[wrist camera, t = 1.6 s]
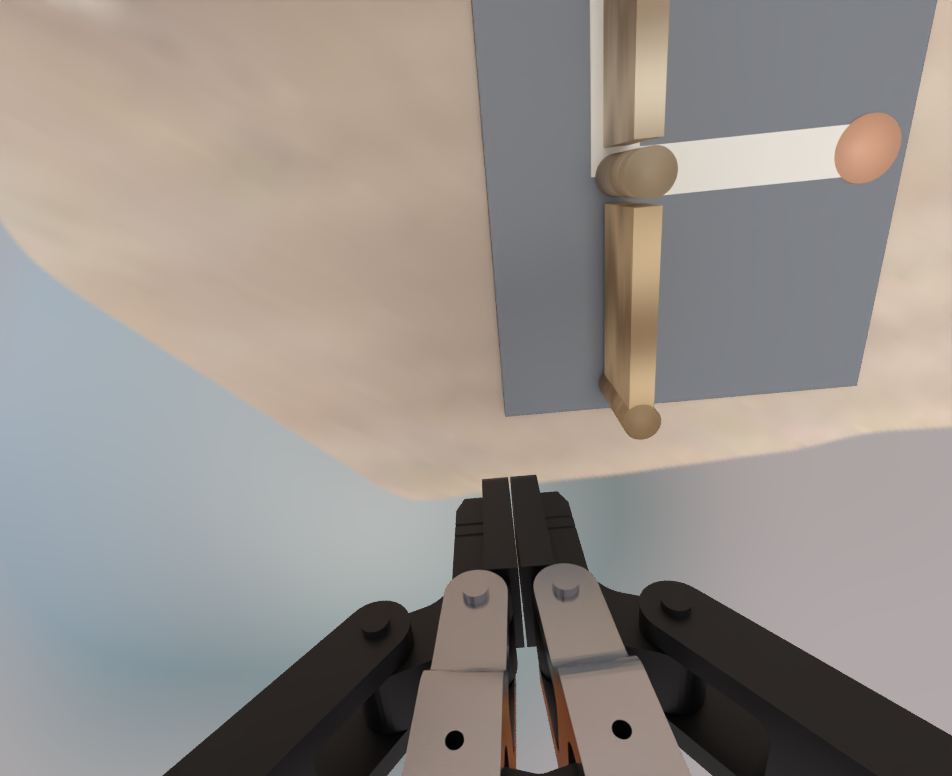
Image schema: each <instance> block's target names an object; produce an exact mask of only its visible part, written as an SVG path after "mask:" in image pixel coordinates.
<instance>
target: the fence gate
mask: <svg viewBox="0 0 952 776" xmlns="http://www.w3.org/2000/svg"><path fill="white" fill-rule="evenodd" d="M662 212H663V205H657V204H648V203H639V202H630V201H627V202H617V203H607V204H605V319H604V375H603V376H602V378H601V379H600V383H599V388H600V391H601V392H602V394H603V396H604V397H605V399H606V400H607V402H608V404H609V405H610V407H611V409H612V410H613V412H614V414H615V415H616V417H617V418H618V420H619V422H620V423H621V425H622V427H623V428H624V430H625V431H626V433H627V434H628V435H629V436H630V437H632V438H634V439H647V438H649V437H651V436H653V435H654V434H655V433H656V432H657V431H658V429H659V427H660V425H661V417H660V415H659V413H658V412H657V410H656V409H655V408H654V396H655V373H656V350H657V327H658V304H659V281H660V258H661V235H662Z"/></svg>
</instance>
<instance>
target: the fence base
mask: <svg viewBox="0 0 952 776" xmlns="http://www.w3.org/2000/svg"><path fill="white" fill-rule="evenodd" d="M669 7H670V0H603V148H607V147H617V146H626V145H631V144H635V143H639V142H643V141H647V140H651V139H655V138H659V137H663V136H664V125H665V102H666V78H667V54H668V31H669ZM677 174H678V164H677V160H676V157H675V155H674V154H673V153H672V151H670V150H669V149H668V148H666V147H664V146H661V145H651V146H646V147H642V148H637V149H632V150H628V151H623V152H619V153H614V154H611V155H608V156H607V157H605V158H604V159H603V160H602V161H601V162H600V163H599V165H598V167H597V170H596V175H595V182H596V185H597V187H598V189H599V190H600V191H601V192H602V193H604V194H605V195H608V196H616V197H627V198H639V199H656V198H659V197H661V196H663V195H664V194H666V193H667V192H668V191H669V190H670V189H671V187H672V186H673V184H674V183H675V180H676V178H677Z"/></svg>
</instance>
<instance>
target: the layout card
mask: <svg viewBox="0 0 952 776" xmlns="http://www.w3.org/2000/svg"><path fill="white" fill-rule="evenodd" d="M936 4H937V0H670V7H669V31H668V54H667V78H666V102H665V125H664V136H663V137H659V138H655V139H651V140H647V141H643V142H639V143H635V144H631V145H626V146H617V147H607V148H603V0H472V10H473V23H474V35H475V47H476V59H477V72H478V84H479V96H480V109H481V121H482V133H483V146H484V158H485V170H486V182H487V195H488V207H489V219H490V232H491V244H492V256H493V269H494V281H495V293H496V306H497V318H498V330H499V342H500V355H501V367H502V379H503V392H504V404H505V415H506V417H508V416H519V415H530V414H542V413H553V412H564V411H576V410H587V409H598V408H610V405H609V404H608V402H607V400H606V399H605V397H604V396H603V394H602V392H601V391H600V388H599V383H600V379H601V378H602V376H603V375H604V319H605V204H607V203H617V202H627V201H630V202H639V203H648V204H657V205H663V212H662V235H661V258H660V281H659V304H658V327H657V350H656V373H655V396H654V404H655V403H666V402H678V401H689V400H700V399H712V398H723V397H734V396H745V395H757V394H768V393H779V392H791V391H802V390H813V389H825V388H836V387H847V386H857V382H858V377H859V372H860V368H861V363H862V358H863V353H864V348H865V344H866V339H867V334H868V329H869V325H870V320H871V315H872V310H873V305H874V301H875V296H876V291H877V286H878V281H879V277H880V272H881V267H882V262H883V258H884V253H885V248H886V243H887V238H888V234H889V229H890V224H891V219H892V214H893V210H894V205H895V200H896V195H897V191H898V186H899V181H900V176H901V171H902V167H903V162H904V157H905V152H906V148H907V143H908V138H909V133H910V128H911V124H912V119H913V114H914V109H915V104H916V100H917V95H918V90H919V85H920V81H921V76H922V71H923V66H924V61H925V57H926V52H927V47H928V42H929V37H930V33H931V28H932V23H933V18H934V14H935V9H936ZM651 145H661V146H664V147H666V148H668V149H669V150H670V151H672V153H673V154H674V155H675V157H676V160H677V164H678V174H677V178H676V180H675V183H674V184H673V186H672V187H671V189H670V190H669V191H668V192H667V193H666V194H664V195H663V196H661V197H659V198H656V199H639V198H627V197H616V196H608V195H605V194H604V193H602V192H601V191H600V190H599V189H598V187H597V185H596V182H595V175H596V170H597V167H598V165H599V163H600V162H601V161H602V160H603V159H604V158H605V157H607V156H608V155H611V154H614V153H619V152H623V151H628V150H632V149H637V148H642V147H646V146H651Z"/></svg>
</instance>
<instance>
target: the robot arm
mask: <svg viewBox="0 0 952 776" xmlns="http://www.w3.org/2000/svg"><path fill="white" fill-rule="evenodd" d="M510 482H511V494H512V506H513V518H514V528H513V518H512V509H511V500H510V491H509V482H508V477H505V478H493V479H482V493H483V498H472V499H465V500H464V501H463V503H462V504H461V505H460V507H459V508H458V510H457V511H456V528H455V543H454V560H453V578H452V581H450V583H449V584H448V585H447V587H446V589H445V592H444V596H443V597H442V598H441V599H439V600H438V601H437V602H435V603H433V604H432V605H430V606H427V607H425V608H422V609H419V610H416V611H414V612H411V613H408V612H407V610H406V609H405V608H404V607H403V606H402V605H400V604H398V603H396V602H392V601H378V602H373V603H370V604H368V605H365V606H363V607H362V608H360V609H358V610H357V611H356V612H355V613H353V614H352V615H351V616H350V617H349V618H347V619H346V620H345V621H344V622H343V623H342V624H341V625H339V626H338V627H337V628H336V629H334V630H333V631H332V632H331V633H330V634H329V635H327V636H326V637H325V638H324V639H323V640H321V641H320V642H319V643H318V644H317V645H316V646H314V647H313V648H312V649H311V650H310V651H309V652H307V653H306V654H305V655H304V656H303V657H302V658H300V659H299V660H298V661H297V662H296V663H294V664H293V665H292V666H291V667H290V668H289V669H287V670H286V671H285V672H284V673H283V674H282V675H280V676H279V677H278V678H277V679H276V680H275V681H273V682H272V683H271V684H270V685H269V686H267V687H266V688H265V689H264V690H263V691H262V692H260V693H259V694H258V695H257V696H256V697H254V698H253V699H252V700H251V701H250V702H249V703H247V704H246V705H245V706H244V707H243V708H242V709H241V710H239V711H238V712H237V713H236V714H234V715H233V716H232V717H231V718H230V719H229V720H227V721H226V722H225V723H224V724H223V725H222V726H220V727H219V728H218V729H217V730H216V731H215V732H213V733H212V734H211V735H210V736H209V737H207V738H206V739H205V740H204V741H203V742H202V743H201V744H199V745H198V746H197V747H196V748H195V749H193V750H192V751H191V752H190V753H189V754H188V755H186V756H185V757H184V758H183V759H182V760H181V761H179V762H178V763H177V764H176V765H175V766H173V767H172V768H171V769H170V770H169V771H167V772H166V773H165V774H164V775H163V776H387V775H388V774H389V772H390V771H391V770H392V769H393V768H394V766H395V765H396V764H397V763H398V762H399V760H400V759H401V758H402V757H403V755H404V754H405V753H406V756H405V762H404V767H403V772H402V776H691V774H690V772H689V769H688V767H687V765H686V762H685V760H684V758H683V755H682V753H681V751H680V749H679V747H680V748H681V749H682V750H683V751H684V752H686V753H687V754H688V755H689V756H690V757H691V758H692V759H694V760H695V761H696V762H697V763H699V764H700V765H701V766H702V767H703V768H704V769H705V770H707V771H708V772H709V773H710V774H711V775H712V776H952V736H951V735H950V734H948V733H946V732H944V731H943V730H941V729H939V728H937V727H936V726H934V725H932V724H930V723H929V722H927V721H925V720H923V719H922V718H920V717H918V716H917V715H915V714H913V713H911V712H910V711H908V710H906V709H904V708H902V707H901V706H899V705H897V704H896V703H894V702H892V701H890V700H888V699H887V698H885V697H883V696H882V695H880V694H878V693H876V692H874V691H873V690H871V689H869V688H868V687H866V686H864V685H862V684H861V683H859V682H857V681H856V680H854V679H852V678H850V677H848V676H847V675H845V674H843V673H842V672H840V671H838V670H836V669H835V668H833V667H831V666H829V665H828V664H826V663H824V662H822V661H821V660H819V659H817V658H815V657H814V656H812V655H810V654H808V653H807V652H805V651H803V650H802V649H800V648H798V647H796V646H794V645H793V644H791V643H789V642H788V641H786V640H784V639H782V638H781V637H779V636H777V635H775V634H773V633H772V632H770V631H768V630H766V629H765V628H763V627H761V626H760V625H758V624H756V623H755V622H753V621H751V620H749V619H747V618H746V617H744V616H742V615H740V614H739V613H737V612H735V611H734V610H732V609H730V608H728V607H727V606H725V605H723V604H721V603H720V602H718V601H716V600H714V599H713V598H711V597H709V596H707V595H706V594H704V593H702V592H700V591H699V590H697V589H695V588H693V587H691V586H689V585H687V584H684V583H681V582H676V581H659V582H655V583H653V584H651V585H648V586H647V587H646V588H645V589H644V590H643V591H642V593H641V594H640V596H637V595H632V594H626V593H621V592H617V591H614V590H611V589H609V588H607V587H605V586H603V585H602V584H600V583H599V582H597V580H596V578H595V577H594V576H593V575H592V574H591V573H590V572H589V570H588V568H587V564H586V561H585V558H584V554H583V551H582V548H581V544H580V541H579V537H578V533H577V530H576V528H575V523H574V520H573V518H572V513H571V510H570V506H569V503H568V501H567V500H565V498H564V497H563V496H562V495H560V494H559V493H558V492H544V493H540V491H539V486H538V481H537V476H536V475H528V476H516V477H510ZM514 530H515V537H514ZM515 540H516V545H515ZM516 550H517V554H516ZM517 559H518V563H517ZM518 567H519V574H518ZM519 576H520V585H521V594H522V603H523V612H524V621H525V629H526V639H527V647H532V646H533V647H534V646H537V653H538V660H539V675H540V683H541V688H542V692H543V697H544V702H545V706H546V711H547V716H548V721H549V725H550V730H551V735H552V739H553V744H554V749H555V753H556V758H557V763H558V769H555V770H553V771H550V772H547V773H544V774H535V773H530V772H526V771H521V770H517V769H516V673H517V664H518V663H517V653H516V648H522V647H524V636H523V624H522V611H521V599H520V586H519Z"/></svg>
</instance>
